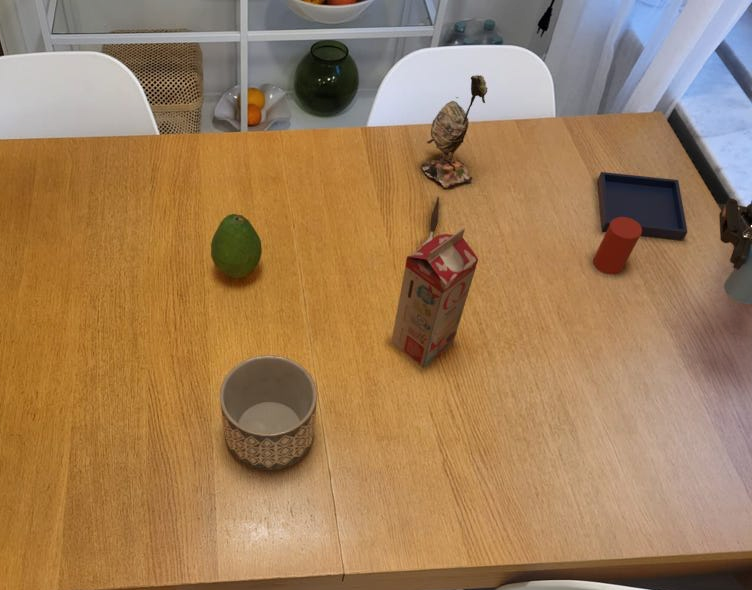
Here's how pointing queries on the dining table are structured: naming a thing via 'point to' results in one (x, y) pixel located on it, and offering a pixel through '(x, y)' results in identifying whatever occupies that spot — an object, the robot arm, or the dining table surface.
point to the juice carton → (433, 297)
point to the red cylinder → (617, 245)
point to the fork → (433, 221)
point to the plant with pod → (452, 138)
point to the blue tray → (643, 204)
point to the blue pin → (741, 282)
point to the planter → (268, 411)
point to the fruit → (236, 247)
